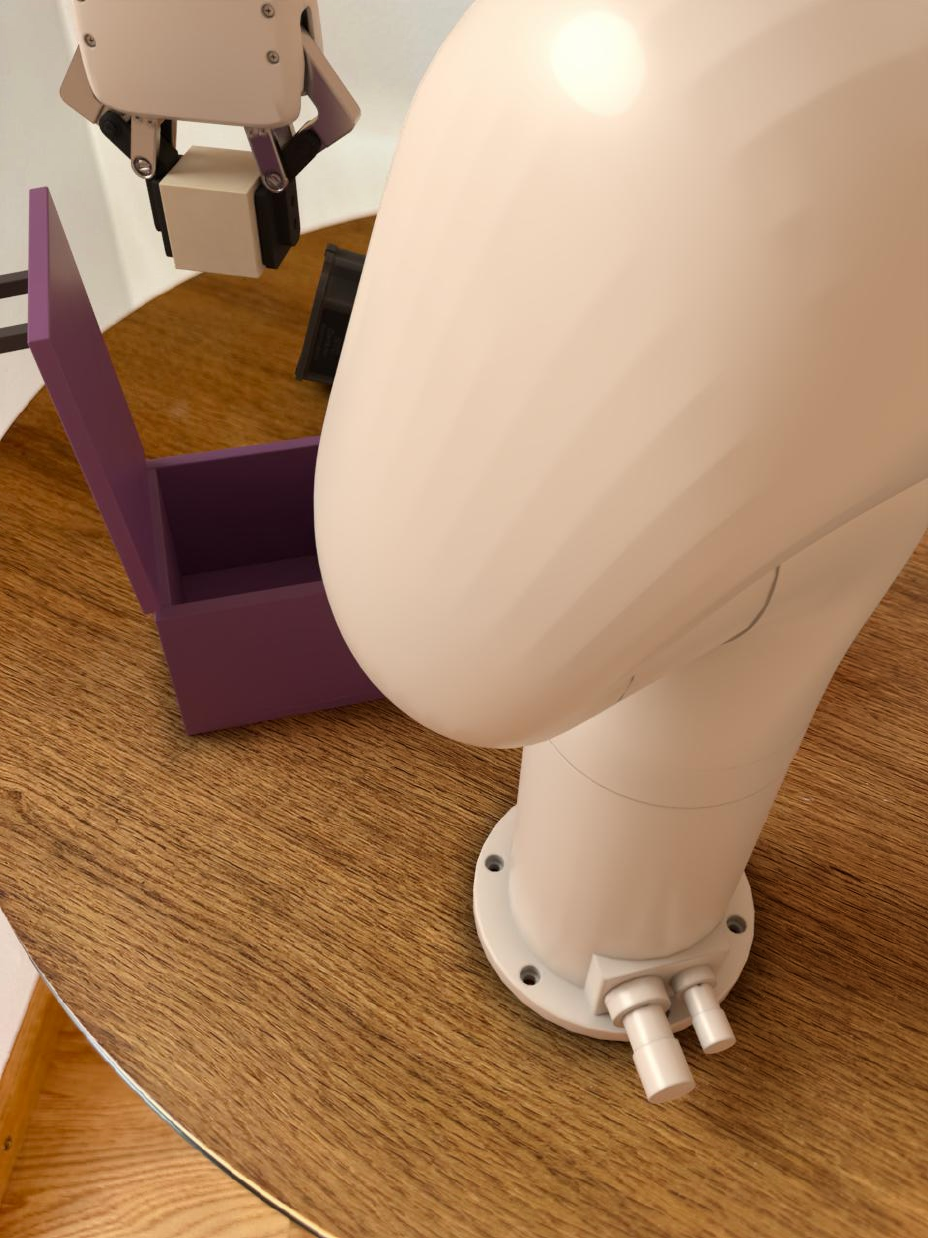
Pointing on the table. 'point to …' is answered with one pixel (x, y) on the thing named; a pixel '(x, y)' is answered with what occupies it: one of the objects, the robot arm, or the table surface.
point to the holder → (246, 588)
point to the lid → (84, 391)
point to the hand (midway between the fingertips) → (230, 246)
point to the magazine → (330, 315)
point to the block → (213, 212)
